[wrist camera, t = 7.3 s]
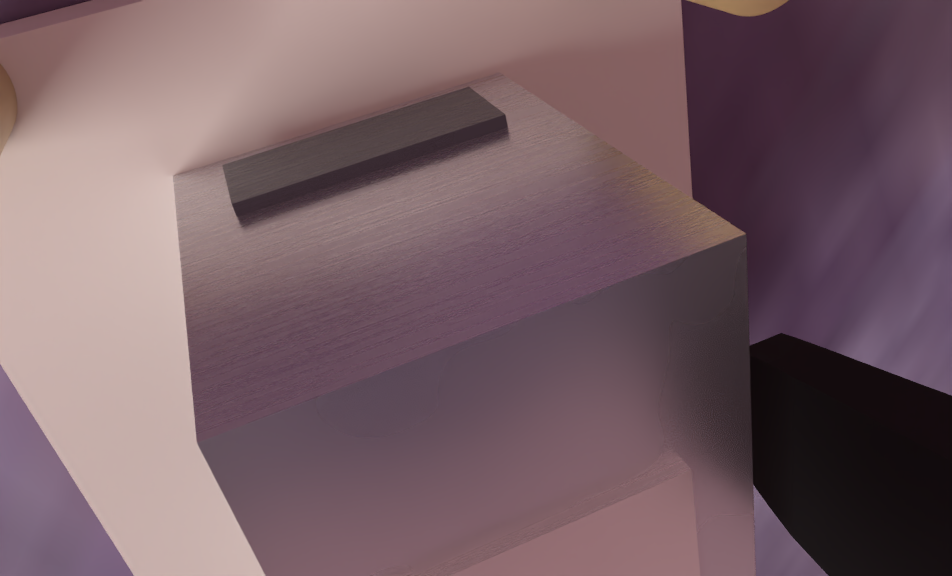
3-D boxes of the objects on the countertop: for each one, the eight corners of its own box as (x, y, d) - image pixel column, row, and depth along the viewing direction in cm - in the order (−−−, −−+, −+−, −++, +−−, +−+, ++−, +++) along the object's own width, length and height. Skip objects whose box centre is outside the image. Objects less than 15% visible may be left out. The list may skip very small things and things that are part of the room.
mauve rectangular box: (580, 503, 15) (768, 788, 10) (357, 599, 14) (457, 953, 10) (496, 60, 10) (758, 223, 6) (167, 163, 10) (190, 441, 5)
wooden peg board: (684, 503, 17) (812, 660, 14) (237, 699, 16) (263, 932, 12) (630, -168, 11) (849, -170, 7) (-164, 35, 9) (-346, 152, 6)
